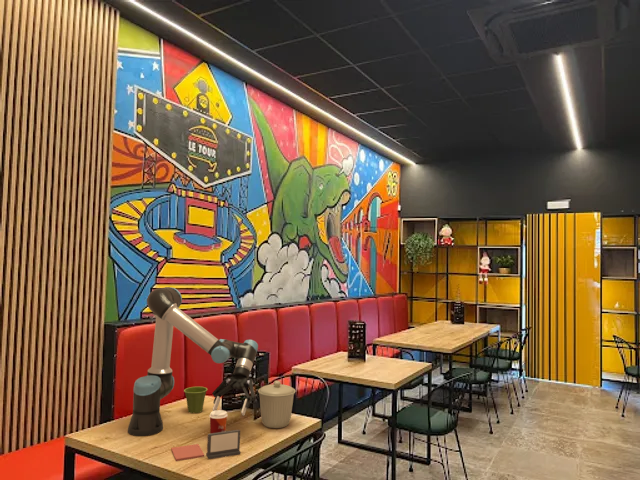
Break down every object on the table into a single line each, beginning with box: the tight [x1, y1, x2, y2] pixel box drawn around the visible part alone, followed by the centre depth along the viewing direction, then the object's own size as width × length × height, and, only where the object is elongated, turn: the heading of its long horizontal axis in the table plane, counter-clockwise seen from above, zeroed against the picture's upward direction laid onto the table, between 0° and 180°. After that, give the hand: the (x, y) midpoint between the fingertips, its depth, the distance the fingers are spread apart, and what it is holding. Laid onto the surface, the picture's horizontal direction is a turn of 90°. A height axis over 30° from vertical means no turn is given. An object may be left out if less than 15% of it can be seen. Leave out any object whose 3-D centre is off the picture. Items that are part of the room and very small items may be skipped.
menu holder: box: [205, 429, 241, 460], centre depth 189 cm, size 4×13×9 cm, turn 116°
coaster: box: [170, 443, 205, 462], centre depth 190 cm, size 12×11×1 cm
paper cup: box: [208, 409, 228, 434], centre depth 199 cm, size 8×8×14 cm
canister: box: [257, 380, 296, 429], centre depth 226 cm, size 18×18×21 cm
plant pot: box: [183, 386, 208, 414], centre depth 243 cm, size 12×12×11 cm
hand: (228, 412), depth 205 cm, fingers open, 13 cm apart
